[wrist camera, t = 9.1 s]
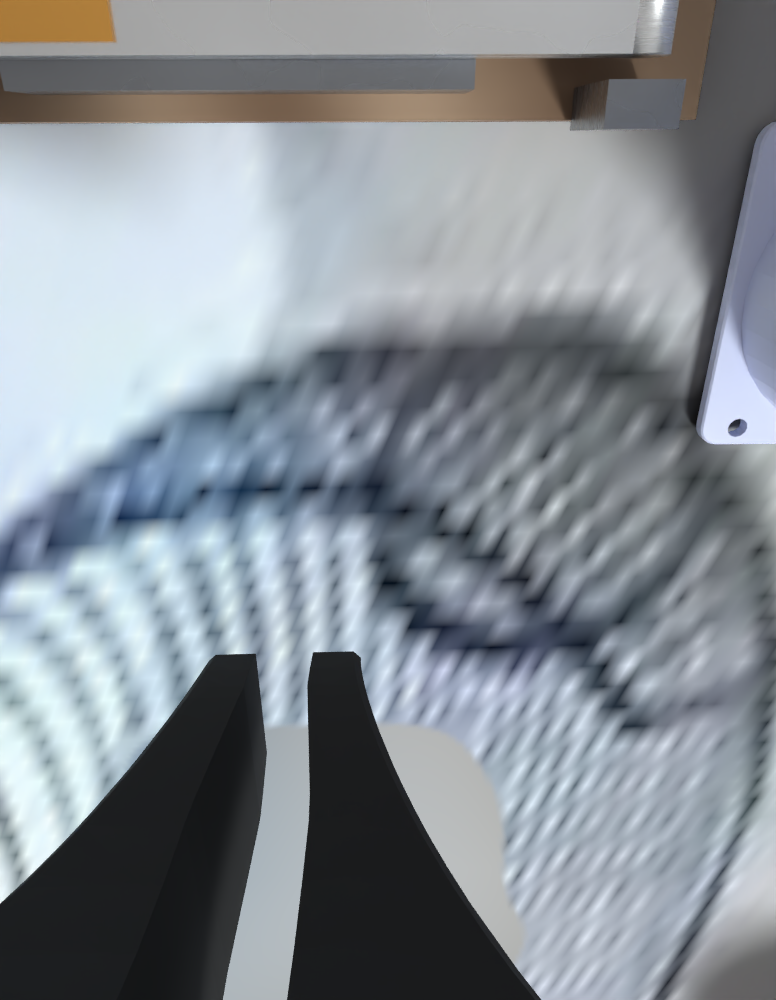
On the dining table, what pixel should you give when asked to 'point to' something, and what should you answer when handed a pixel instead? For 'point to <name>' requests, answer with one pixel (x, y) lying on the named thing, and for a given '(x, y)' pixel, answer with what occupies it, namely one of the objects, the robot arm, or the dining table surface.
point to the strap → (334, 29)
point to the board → (496, 98)
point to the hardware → (335, 83)
